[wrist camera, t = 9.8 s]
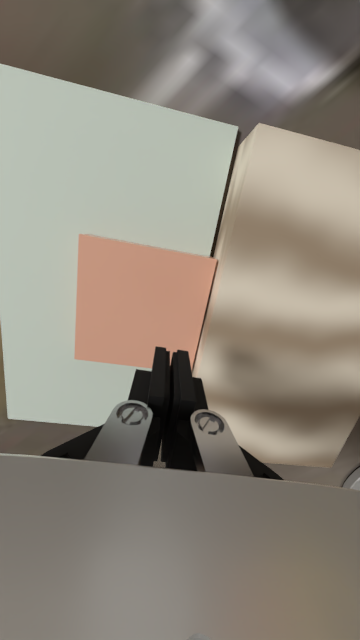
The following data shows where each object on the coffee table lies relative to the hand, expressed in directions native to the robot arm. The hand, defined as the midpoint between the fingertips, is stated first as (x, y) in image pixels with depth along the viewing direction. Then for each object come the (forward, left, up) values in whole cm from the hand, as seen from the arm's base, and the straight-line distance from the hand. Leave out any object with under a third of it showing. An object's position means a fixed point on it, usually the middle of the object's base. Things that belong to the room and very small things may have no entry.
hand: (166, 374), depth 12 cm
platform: (0, -11, -10) cm, 15 cm away
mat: (0, +5, -10) cm, 11 cm away
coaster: (0, +2, -10) cm, 10 cm away
